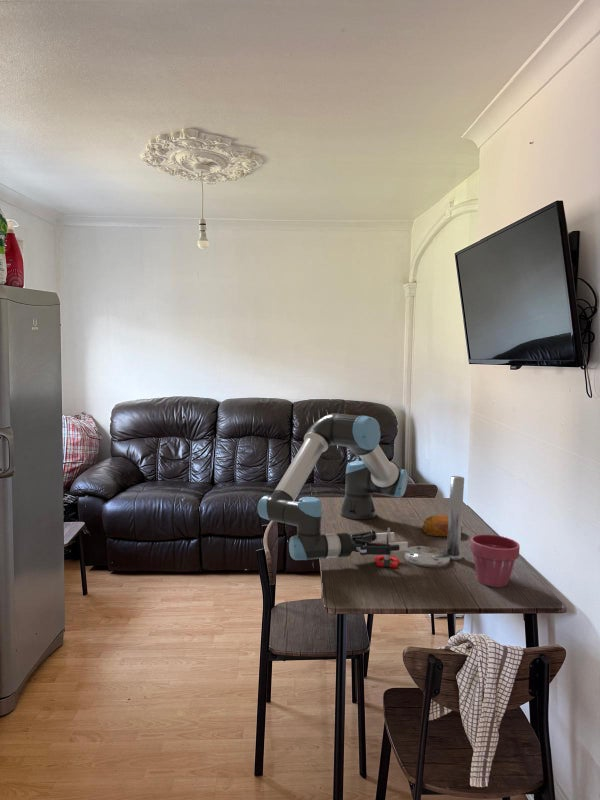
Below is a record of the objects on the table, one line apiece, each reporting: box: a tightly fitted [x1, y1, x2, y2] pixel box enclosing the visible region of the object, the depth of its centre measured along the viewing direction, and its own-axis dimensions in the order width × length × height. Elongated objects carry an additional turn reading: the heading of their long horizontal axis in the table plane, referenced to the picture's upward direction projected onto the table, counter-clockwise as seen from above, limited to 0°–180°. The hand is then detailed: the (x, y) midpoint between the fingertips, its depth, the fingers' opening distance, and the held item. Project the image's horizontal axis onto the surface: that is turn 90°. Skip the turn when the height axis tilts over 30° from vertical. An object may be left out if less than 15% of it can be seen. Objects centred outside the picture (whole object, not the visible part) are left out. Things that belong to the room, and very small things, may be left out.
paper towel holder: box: [404, 475, 465, 569], centre depth 192 cm, size 15×21×28 cm
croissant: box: [422, 514, 463, 537], centre depth 222 cm, size 14×16×8 cm
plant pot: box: [469, 533, 521, 588], centre depth 175 cm, size 14×14×13 cm
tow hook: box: [373, 527, 401, 569], centre depth 187 cm, size 8×13×9 cm
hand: (400, 541), depth 188 cm, fingers open, 9 cm apart
